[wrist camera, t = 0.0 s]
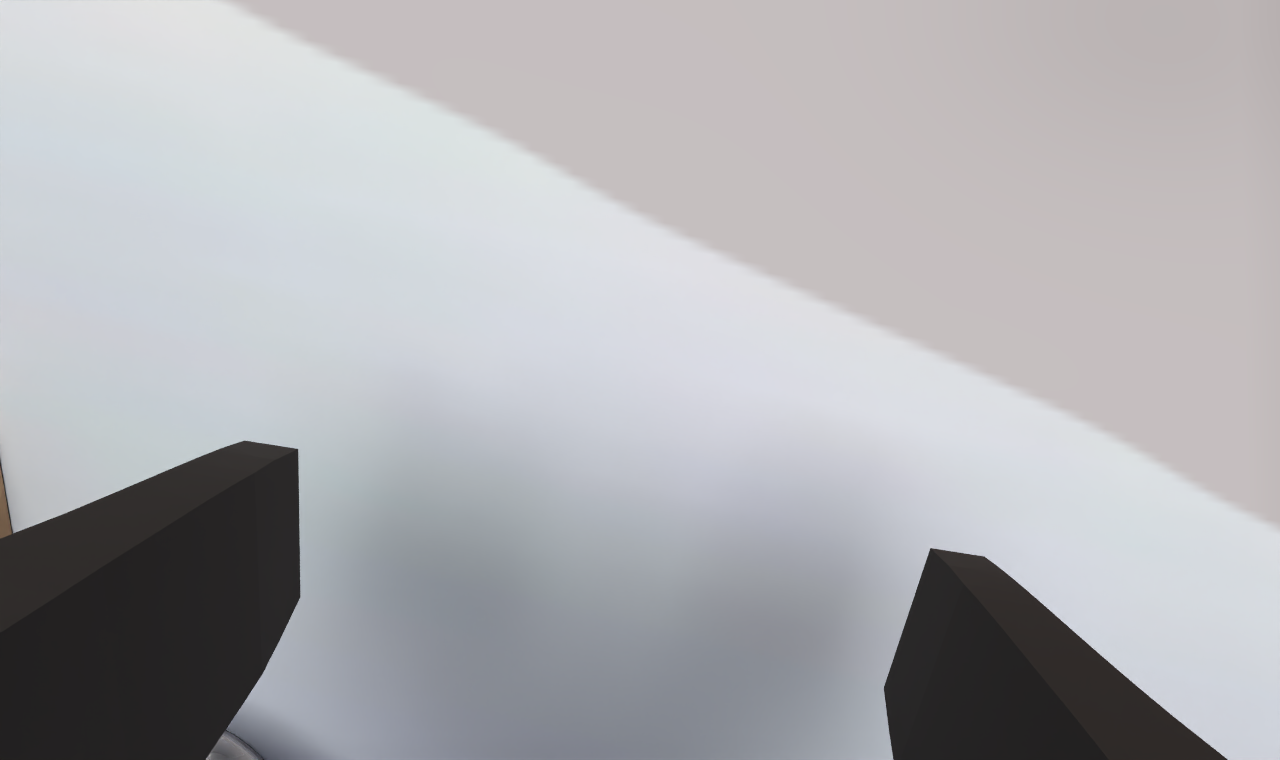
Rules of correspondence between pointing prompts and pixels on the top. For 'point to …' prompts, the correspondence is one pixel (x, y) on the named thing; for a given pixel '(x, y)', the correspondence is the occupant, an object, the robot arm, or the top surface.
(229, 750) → the axle post
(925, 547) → the top surface
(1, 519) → the block
